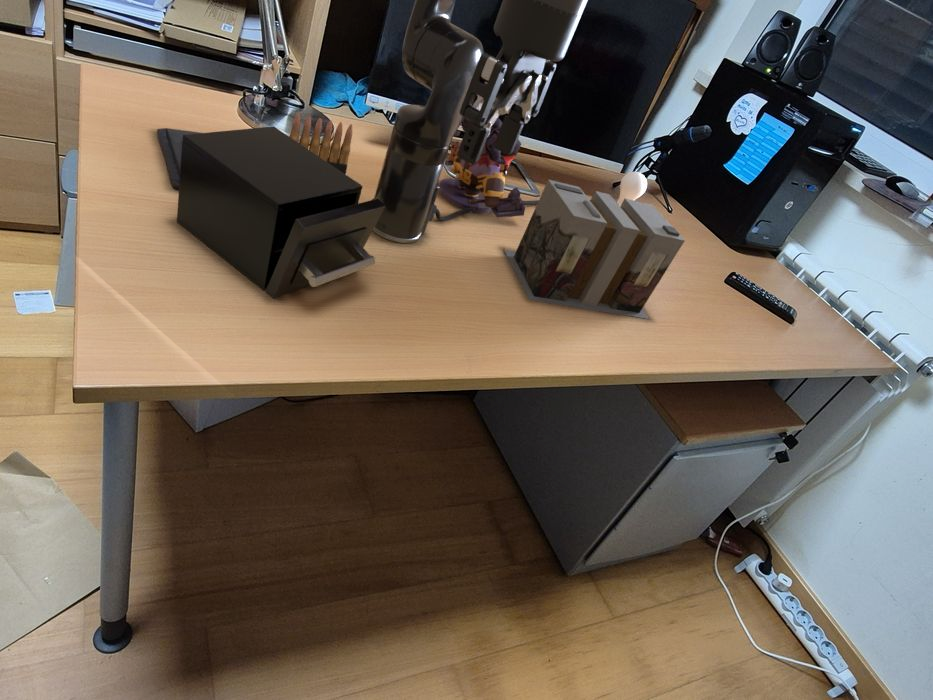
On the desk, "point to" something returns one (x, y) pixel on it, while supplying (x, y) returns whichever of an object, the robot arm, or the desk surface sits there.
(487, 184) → the figurine
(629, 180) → the lightbulb
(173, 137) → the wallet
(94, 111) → the desk surface
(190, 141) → the oven
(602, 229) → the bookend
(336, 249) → the oven door
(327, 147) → the ammunition clip
